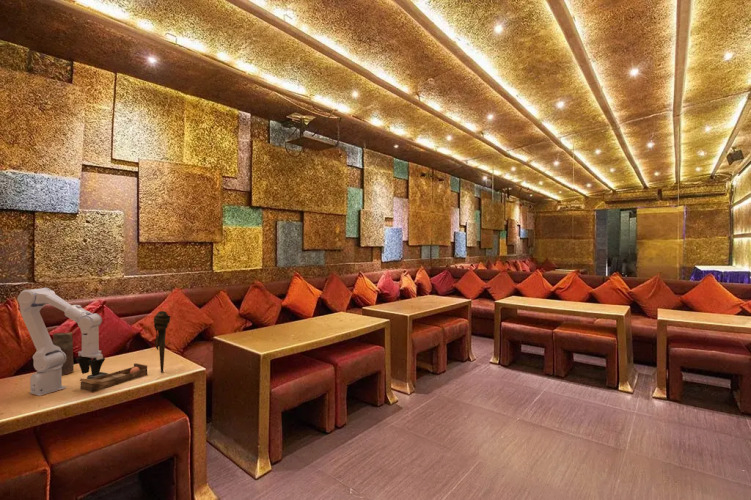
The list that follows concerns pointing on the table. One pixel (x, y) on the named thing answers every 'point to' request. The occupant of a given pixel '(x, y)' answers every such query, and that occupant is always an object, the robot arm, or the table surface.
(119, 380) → the lane
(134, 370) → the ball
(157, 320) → the decorative torch
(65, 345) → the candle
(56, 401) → the table surface
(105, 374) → the grey square tray
